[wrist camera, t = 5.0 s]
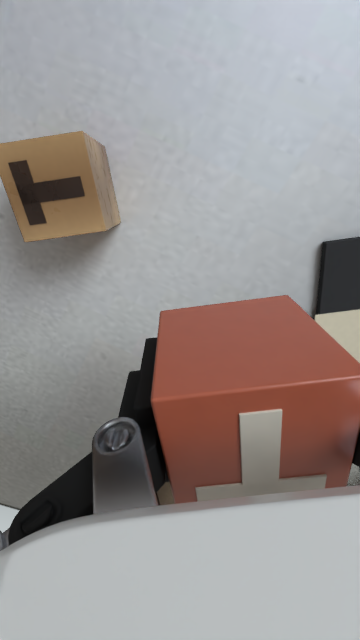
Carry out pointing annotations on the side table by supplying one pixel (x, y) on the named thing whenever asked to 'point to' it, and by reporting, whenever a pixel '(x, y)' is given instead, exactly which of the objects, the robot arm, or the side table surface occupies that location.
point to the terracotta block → (253, 401)
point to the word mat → (340, 293)
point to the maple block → (59, 186)
